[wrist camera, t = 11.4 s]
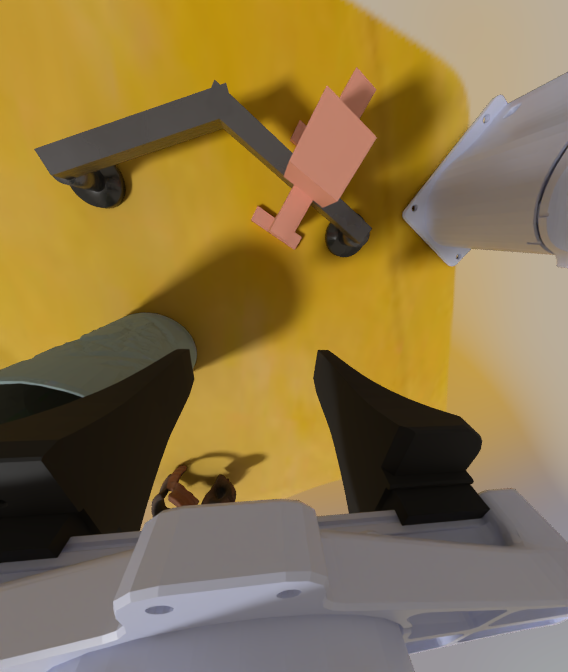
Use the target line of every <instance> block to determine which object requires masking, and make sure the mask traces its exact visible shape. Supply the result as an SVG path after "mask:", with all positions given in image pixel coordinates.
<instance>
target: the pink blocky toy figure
mask: <svg viewBox="0 0 568 672" xmlns="http://www.w3.org/2000/svg"><path fill="white" fill-rule="evenodd" d="M375 91H376V89H375V87H374V86H373V85H372V84H371V83H370V82H369V81H368V79H367V78H366V77H365V76H364V75H363V74H362V73H361V71H360V70H359V69H358V68H357V67H356V69H355V71H354V73H353V74H352V76H351V78H350V80H349V82H348V83H347V85H346V87H345V89H344V90H343V92H342V94H341V96H340V98H339V97H338V96H337V95H336V94H335V93H334V92H333V91H332V90H331V89H330V88H329V87H328V86H326V88H325V90H324V92H323V94H322V96H321V98H320V100H319V102H318V104H317V106H316V108H315V110H314V112H313V114H312V116H311V118H310V120H309V122H308V124H307V126H306V125H305V124H304V123H303V122H302V121H301V120H300V121H299V123H298V125H297V127H296V129H295V131H294V133H293V135H292V137H291V140H290V141H291V142H292V143H294V144H295V145H296V148H295V150H294V152H293V154H292V156H291V158H290V160H289V163H288V166H287V168H286V171H285V174H284V177H285V178H286V179H287V180H289V181H290V182H291V183H292V184H294V185H293V187H292V189H291V191H290V193H289V195H288V197H287V199H286V201H285V203H284V204H283V206H282V208H281V210H280V212H279V213H278V214H277V216H276V217H275V218H274V217H273V216H271V215H270V214H269V213H267V212H266V211H264V210H263V209H262V208H260V207H259V206H258V207H257V209H256V211H255V213H254V215H253V217H252V219H251V221H253V222H254V223H256V224H257V225H259V226H260V227H262V228H263V229H265V230H266V231H268V232H269V233H270V234H272V235H273V236H275V237H276V238H278V239H279V240H281V241H282V242H284V243H285V244H287V245H288V246H289V247H291V248H292V249H294V250H295V248H296V247H297V245H298V243H299V242H300V240H301V238H302V237H301V236H299V235H298V234H297V233H295V231H296V229H297V227H298V225H299V224H300V222H301V220H302V218H303V217H304V215H305V213H306V211H307V210H308V208H309V206H310V204H311V203H312V201H313V200H314V201H315V202H316V203H317V204H318V205H320V206H321V207H322V208H323V207H326V206H328V205H330V204H333V203H335V202H337V201H338V200H339V198H340V197H341V195H342V193H343V192H344V190H345V188H346V187H347V185H348V184H349V182H350V180H351V179H352V177H353V175H354V174H355V172H356V171H357V169H358V167H359V166H360V164H361V162H362V161H363V159H364V158H365V156H366V154H367V153H368V151H369V149H370V148H371V146H372V145H373V143H374V141H375V140H376V138H377V137H376V136H375V135H374V134H373V133H372V132H371V131H370V130H369V129H368V128H367V127H366V126H365V124H364V123H363V122H362V121H361V120H360V117H361V115H362V114H363V112H364V110H365V108H366V107H367V105H368V103H369V101H370V100H371V98H372V96H373V94H374V93H375Z"/></svg>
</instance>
